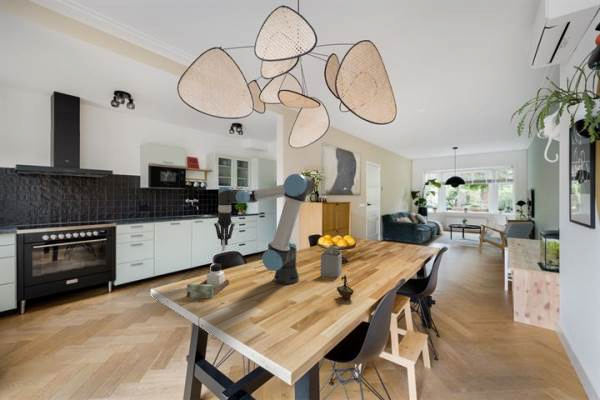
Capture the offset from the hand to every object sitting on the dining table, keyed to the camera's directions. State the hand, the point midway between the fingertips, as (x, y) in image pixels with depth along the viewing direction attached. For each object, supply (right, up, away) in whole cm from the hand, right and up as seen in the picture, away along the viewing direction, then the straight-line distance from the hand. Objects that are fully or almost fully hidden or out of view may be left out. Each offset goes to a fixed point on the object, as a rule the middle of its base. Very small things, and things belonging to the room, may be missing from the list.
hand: (224, 250), depth 146 cm
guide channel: (-2, -18, -18) cm, 25 cm away
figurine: (+69, -19, -26) cm, 76 cm away
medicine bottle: (-1, -18, -11) cm, 21 cm away
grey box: (+69, -18, +8) cm, 72 cm away
